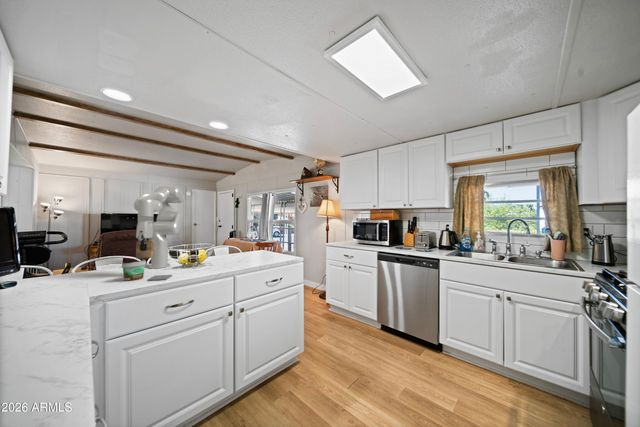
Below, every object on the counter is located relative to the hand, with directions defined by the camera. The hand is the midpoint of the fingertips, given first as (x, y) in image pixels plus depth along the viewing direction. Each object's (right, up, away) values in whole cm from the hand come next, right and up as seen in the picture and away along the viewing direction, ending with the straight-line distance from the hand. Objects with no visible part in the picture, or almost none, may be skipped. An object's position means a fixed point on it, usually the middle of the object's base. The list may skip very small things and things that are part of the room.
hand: (145, 249), depth 140 cm
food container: (+2, -15, -8) cm, 18 cm away
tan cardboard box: (0, -5, 0) cm, 5 cm away
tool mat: (+14, -15, -7) cm, 22 cm away
